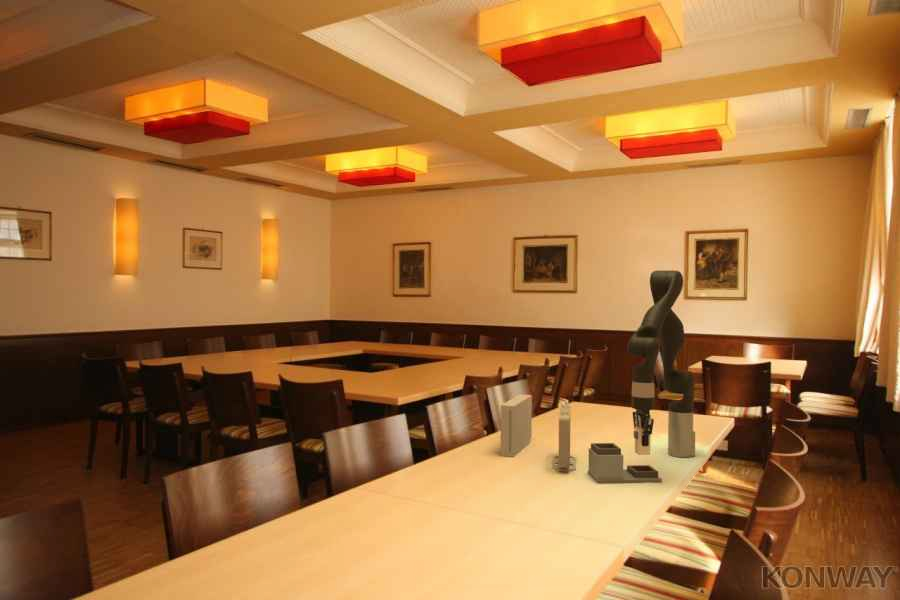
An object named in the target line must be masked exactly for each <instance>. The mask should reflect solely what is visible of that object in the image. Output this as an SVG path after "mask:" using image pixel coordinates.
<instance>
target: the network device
mask: <svg viewBox="0 0 900 600" xmlns="http://www.w3.org/2000/svg"><path fill="white" fill-rule="evenodd" d="M557 457H558V458H557ZM556 458H557V459H558V460H556ZM571 458H573V459H572V461H571ZM555 464H559V465H558V467H555V466H556V465H555ZM550 466H551V470H553V469H554V471H557V470H559V471H558V472H575V471H576V470H577V457H575V456H572V455H571V404H560V407H559V414H558V454H557V455H553V456H552V461H551V465H550ZM570 466H572V468H570Z"/></svg>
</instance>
